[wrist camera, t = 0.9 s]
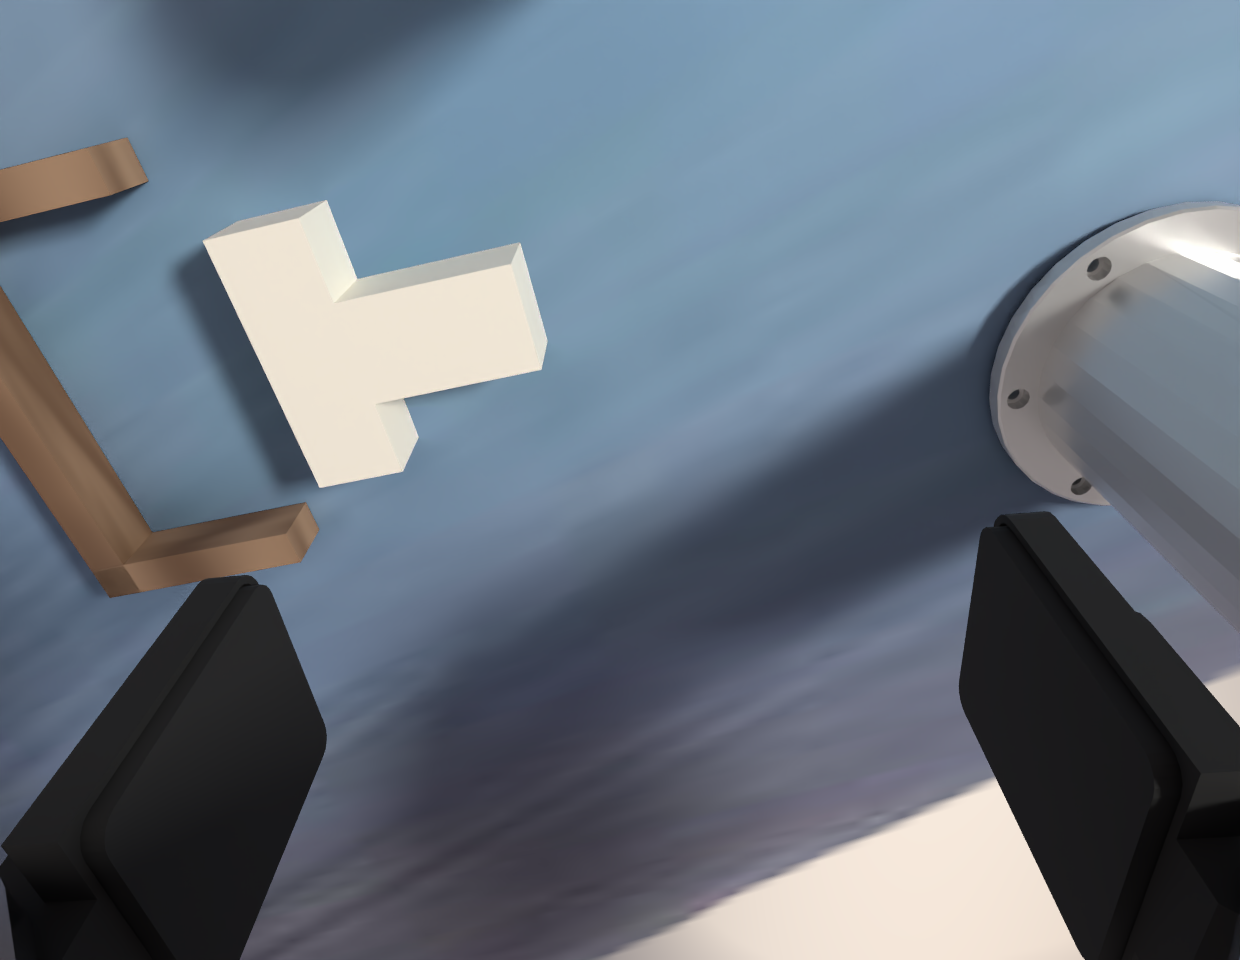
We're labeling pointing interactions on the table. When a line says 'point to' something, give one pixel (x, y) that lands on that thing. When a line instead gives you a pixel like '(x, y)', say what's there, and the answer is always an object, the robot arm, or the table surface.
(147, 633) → the table surface
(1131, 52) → the table surface
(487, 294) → the t block
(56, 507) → the brown u-shaped bracket
